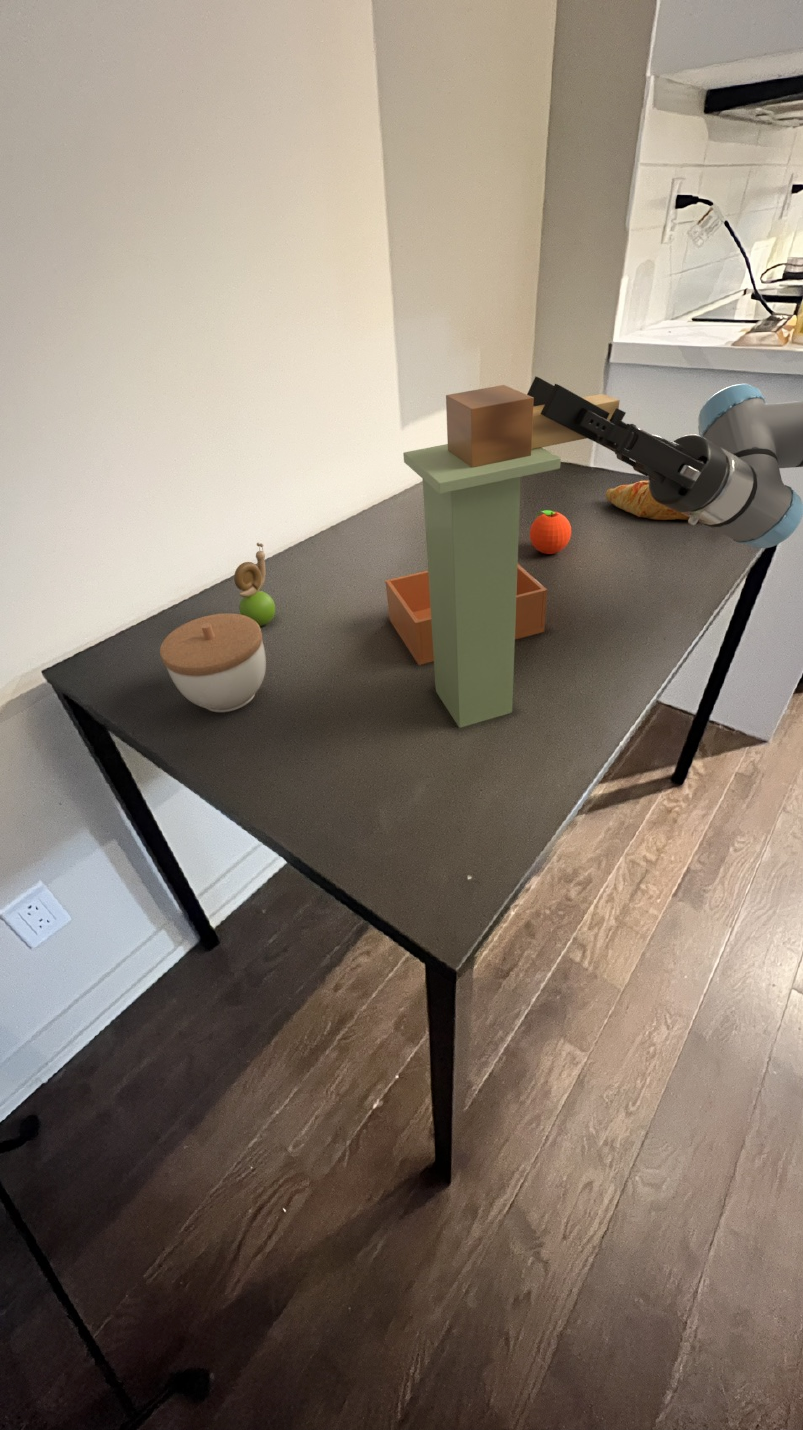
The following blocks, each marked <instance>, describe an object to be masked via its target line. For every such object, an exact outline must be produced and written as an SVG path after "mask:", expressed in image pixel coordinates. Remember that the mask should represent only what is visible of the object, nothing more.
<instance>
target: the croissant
mask: <svg viewBox="0 0 803 1430" xmlns="http://www.w3.org/2000/svg"><path fill="white" fill-rule="evenodd" d="M605 498H606V500H607V501H609V502H610V503H611V504H613V506H615V507H616V508H618V509H620V510H622V511H625V512H627V513H629V514H631V515H634V516H637V517H638V518H645V519H650V520H655V521H656V520H657V521H667V520H673V521H674V520H684V521H688V520H689V518H690V517H689V516H686V515H684V514H682V513H680V512H677V511H675V510H673V509H671V508H669V507H666V506H664V505H662V504H660V503H658V502H657V501H656V500H654V498H653V497H652V495H651V493H650V490H649V480H640V481H637V482H635V483H630V484H621V485H619V486H616V487H615V488H608V489H607V490H606V492H605Z"/></svg>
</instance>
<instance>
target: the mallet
mask: <svg viewBox="0 0 803 1430" xmlns="http://www.w3.org/2000/svg"><path fill="white" fill-rule="evenodd" d="M581 397H582V398H583V399H585V400H587V401H589V402H591V403H592V404H594V405H596V406H598V407H599V408H601V409H603V410H605V411H607V412H608V413H610V414H609V416H608V418H607V420H608V421H609V420H610V418H611V416H612V415H613V413H614V411H615V409H616V408H617V409H620V399H618V398H615V397H613V396H610V395H607V394H604V393H599V394H593V395H588V396H581ZM533 401H534V398H533V397H531V396H529V395H527V394H526V393H524V392H522V391H520V390H517V389H514V388H512V387H510V386H508V385H506V384H500V385H495V386H489V387H483V388H479V389H473V390H467V391H461V392H455V393H450V394H446V395H445V407H446V408H445V409H446V411H445V412H446V436H447V438H446V439H447V444H448V451H450V452H451V453H453V454H454V455H455V456H457V457H458V458H460V459H461V460H462V461H464V462H465V463H467V464H468V465H469V466H471V467H477V466H482V465H487V464H492V463H497V462H502V461H507V460H512V459H517V458H522V457H526V456H531V450H532V449H537V448H546V447H547V448H548V447H552V446H556V445H560V444H561V445H562V444H566V443H570V442H577V441H581V440H585V439H587V438H586V437H584V436H582V435H580V434H578V433H576V432H574V431H573V430H571V429H569V428H567V427H565V426H563V425H561V424H559V423H557V422H555V421H553V420H551V419H549V418H547V417H545V416H544V415H542V414H540V413H541V411H542V409H543V407H544V405H539V406H534V407H533ZM598 436H599V435H598Z"/></svg>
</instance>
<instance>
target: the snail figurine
mask: <svg viewBox="0 0 803 1430" xmlns="http://www.w3.org/2000/svg"><path fill="white" fill-rule="evenodd" d="M256 546H257V547H258V549H259V550H258V551H256V553H255V559H256V561H257V564H255V562H251V561H245V562H242V563H241V564H239V565H238V566H237V568H236V569H235V571H234V574H233V575H234V576H233V580H234V584H235V586H236V588H237V589H238V590H241V591H240V592H239V593H238V595H239V596H240V597H242V598H241V599H240V602H239V606H238V607H239V608H238V609H239V614H240V615H244V616H247V617H249V618H251V619H253V620H254V621H256V622H257V623H258V625H259V626H260V627H262V626H266V625H267V624H269V623H270V622H271V621H272V620H273V619H274V617H275V615H276V603H275V601H274V599H273V598H272V596H271V595H269V594H268V593H267V592H265V591H262V590H261V588H263V586H264V584H265V581H266V573H267V571H266V562H265V561H266V560H265V557H266V554H265V552H264V544H263V543H260V542H257V543H256ZM261 548H262V549H261Z"/></svg>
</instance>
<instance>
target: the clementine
mask: <svg viewBox="0 0 803 1430" xmlns="http://www.w3.org/2000/svg"><path fill="white" fill-rule="evenodd" d="M541 513H542V514H541ZM539 514H540V515H539ZM571 537H572V526H571V523H570V521H569V520H568V519H567V517H566V516H565V515H563V514H562V513H560V512H558V511H553V510H549V509H545V510H541V511H539V512H537V513H536V515H535V519H534V521H533V522H532V524H531V526H530V530H529V540H530V542H531V544H532V546H533V548H535V550H537V551H538V552H540V553H542V554H546V555H553V554H556V553H558V552H561V551H563V550H564V549H565V548H566V546H567V545H568V544H569V542H570V540H571Z"/></svg>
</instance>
